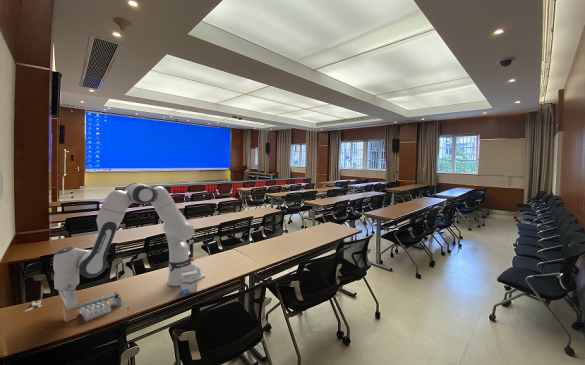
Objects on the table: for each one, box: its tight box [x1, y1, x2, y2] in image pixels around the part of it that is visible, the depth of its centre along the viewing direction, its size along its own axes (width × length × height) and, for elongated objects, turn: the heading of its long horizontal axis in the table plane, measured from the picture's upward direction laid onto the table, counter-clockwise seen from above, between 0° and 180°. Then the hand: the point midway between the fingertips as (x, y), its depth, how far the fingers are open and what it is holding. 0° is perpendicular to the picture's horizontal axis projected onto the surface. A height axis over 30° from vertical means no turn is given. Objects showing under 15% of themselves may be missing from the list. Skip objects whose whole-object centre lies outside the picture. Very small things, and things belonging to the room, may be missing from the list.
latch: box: [63, 305, 78, 323], centre depth 117 cm, size 4×6×7 cm, turn 52°
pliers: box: [23, 300, 43, 313], centre depth 127 cm, size 10×2×15 cm
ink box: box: [180, 264, 198, 295], centre depth 146 cm, size 8×5×15 cm, turn 123°
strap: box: [70, 291, 120, 311], centre depth 123 cm, size 19×4×1 cm, turn 142°
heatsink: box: [79, 294, 122, 322], centre depth 125 cm, size 15×10×5 cm, turn 142°
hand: (68, 309), depth 120 cm, fingers closed
